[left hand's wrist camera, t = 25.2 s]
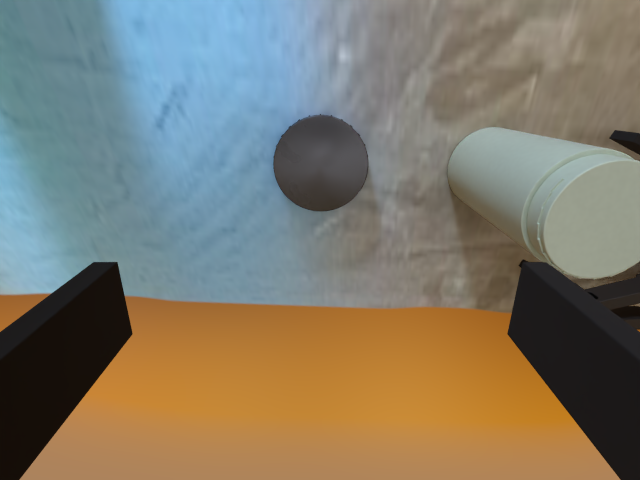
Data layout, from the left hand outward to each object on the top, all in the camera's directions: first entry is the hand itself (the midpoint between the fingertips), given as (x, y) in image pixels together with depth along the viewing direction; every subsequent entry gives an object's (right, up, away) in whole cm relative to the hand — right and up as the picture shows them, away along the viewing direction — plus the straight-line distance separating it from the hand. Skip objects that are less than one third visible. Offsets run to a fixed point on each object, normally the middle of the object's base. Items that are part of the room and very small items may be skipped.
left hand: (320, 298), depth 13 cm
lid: (0, +9, +24) cm, 26 cm away
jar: (+17, +9, +26) cm, 33 cm away
